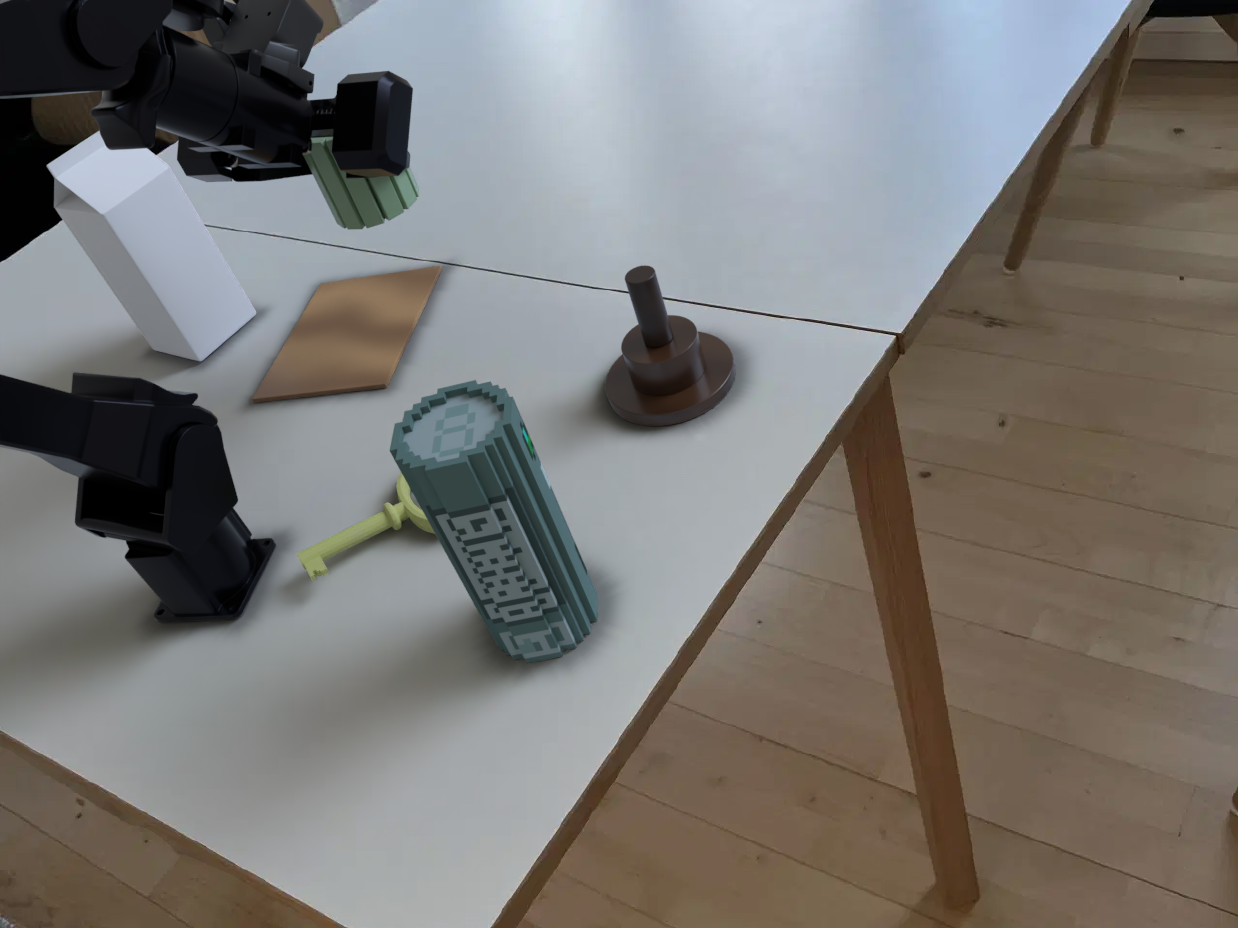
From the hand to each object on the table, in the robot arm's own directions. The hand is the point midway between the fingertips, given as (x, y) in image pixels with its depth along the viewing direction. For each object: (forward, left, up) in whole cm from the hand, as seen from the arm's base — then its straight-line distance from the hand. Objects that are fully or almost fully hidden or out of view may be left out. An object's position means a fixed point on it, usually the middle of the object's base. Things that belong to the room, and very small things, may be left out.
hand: (372, 162), depth 80 cm
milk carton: (+1, +24, -14) cm, 27 cm away
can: (-33, -16, -14) cm, 39 cm away
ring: (-1, 0, -3) cm, 3 cm away
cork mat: (-2, +8, -14) cm, 16 cm away
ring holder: (-13, -21, -14) cm, 28 cm away
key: (-25, -4, -14) cm, 29 cm away
